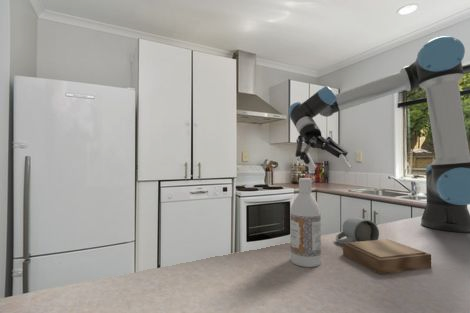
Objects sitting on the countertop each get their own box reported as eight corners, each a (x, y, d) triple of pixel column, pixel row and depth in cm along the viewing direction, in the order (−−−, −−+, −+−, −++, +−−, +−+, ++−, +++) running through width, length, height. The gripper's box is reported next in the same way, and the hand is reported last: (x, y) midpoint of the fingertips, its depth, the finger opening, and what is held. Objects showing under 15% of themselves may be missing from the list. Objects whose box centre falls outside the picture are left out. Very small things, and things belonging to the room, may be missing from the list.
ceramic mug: (363, 238, 80) (362, 214, 80) (380, 247, 72) (379, 219, 72) (330, 240, 79) (330, 215, 79) (344, 249, 71) (343, 221, 71)
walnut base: (387, 250, 69) (387, 237, 70) (431, 267, 58) (431, 253, 58) (343, 254, 66) (343, 241, 66) (380, 274, 54) (380, 258, 54)
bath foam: (285, 258, 63) (284, 177, 64) (308, 255, 65) (308, 177, 66) (301, 269, 57) (301, 179, 57) (327, 265, 59) (326, 179, 59)
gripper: (331, 138, 107) (357, 177, 92) (276, 136, 100) (294, 177, 86) (340, 124, 102) (368, 162, 87) (282, 121, 95) (302, 161, 81)
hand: (331, 170), depth 86 cm, fingers open, 13 cm apart
